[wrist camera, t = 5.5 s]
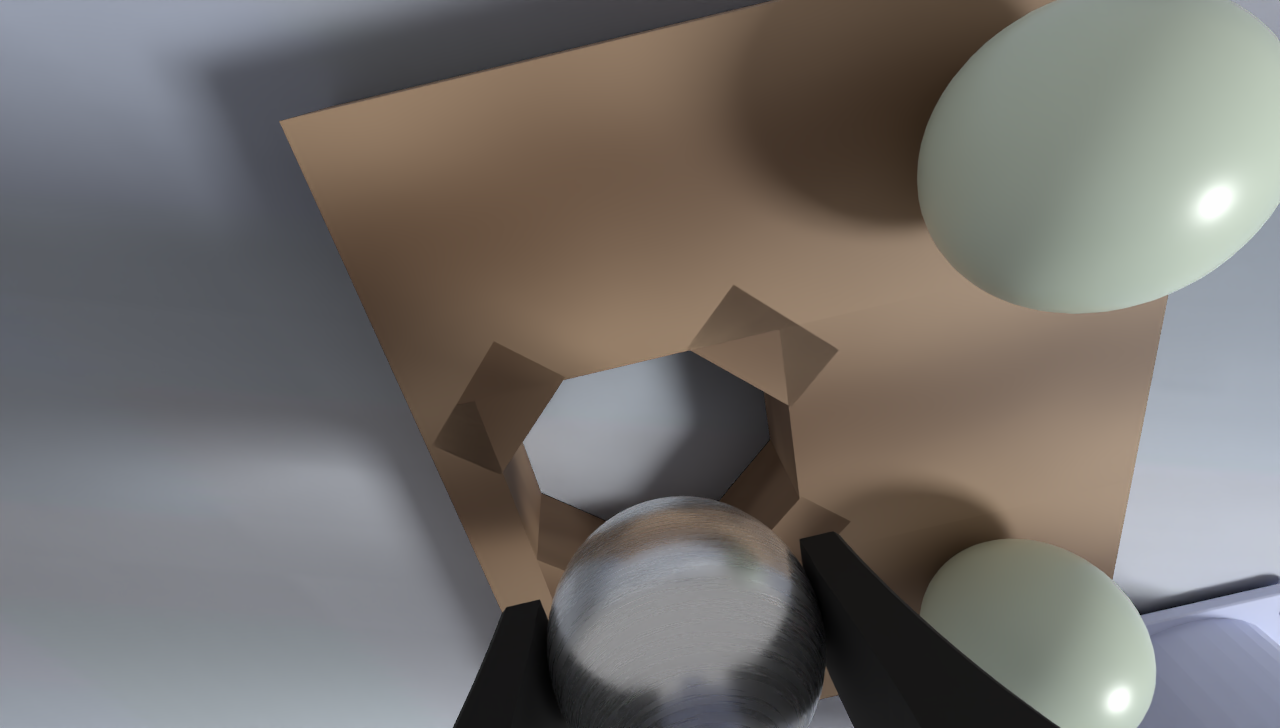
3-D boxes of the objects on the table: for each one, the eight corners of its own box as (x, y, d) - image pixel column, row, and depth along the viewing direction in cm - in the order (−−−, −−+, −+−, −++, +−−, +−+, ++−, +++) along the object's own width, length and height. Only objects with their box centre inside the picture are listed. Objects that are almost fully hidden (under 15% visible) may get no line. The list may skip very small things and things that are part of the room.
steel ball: (790, 593, 14) (880, 827, 10) (584, 639, 14) (587, 890, 10) (766, 420, 12) (867, 627, 8) (522, 475, 12) (493, 710, 8)
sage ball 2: (1049, 608, 18) (1192, 778, 14) (888, 644, 18) (983, 825, 14) (1067, 480, 16) (1242, 636, 12) (884, 522, 16) (994, 693, 12)
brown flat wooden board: (1044, 571, 21) (1101, 635, 18) (567, 680, 21) (567, 757, 19) (1126, -85, 12) (1247, -112, 10) (330, 106, 13) (279, 121, 10)
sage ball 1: (1100, 230, 13) (1353, 322, 9) (874, 284, 13) (1019, 400, 9) (1136, -36, 10) (1496, -84, 6) (864, 28, 11) (1049, 23, 6)
